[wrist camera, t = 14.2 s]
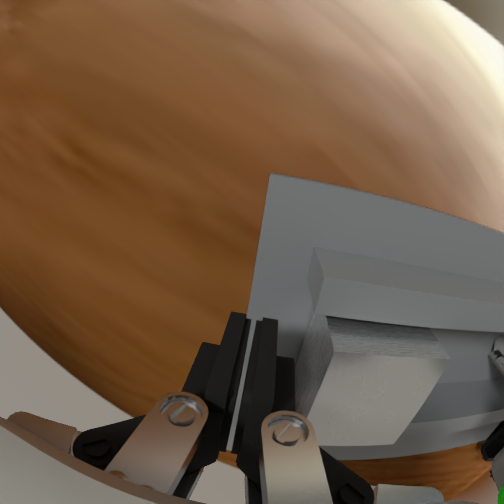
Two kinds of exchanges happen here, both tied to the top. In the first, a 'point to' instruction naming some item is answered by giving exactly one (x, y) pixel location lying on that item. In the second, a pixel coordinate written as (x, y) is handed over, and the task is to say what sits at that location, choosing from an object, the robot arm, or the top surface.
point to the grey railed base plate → (386, 296)
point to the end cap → (493, 444)
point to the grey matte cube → (364, 378)
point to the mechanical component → (500, 466)
